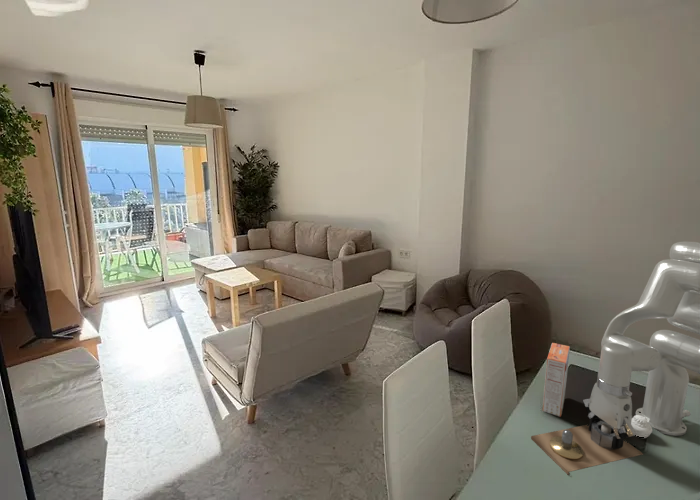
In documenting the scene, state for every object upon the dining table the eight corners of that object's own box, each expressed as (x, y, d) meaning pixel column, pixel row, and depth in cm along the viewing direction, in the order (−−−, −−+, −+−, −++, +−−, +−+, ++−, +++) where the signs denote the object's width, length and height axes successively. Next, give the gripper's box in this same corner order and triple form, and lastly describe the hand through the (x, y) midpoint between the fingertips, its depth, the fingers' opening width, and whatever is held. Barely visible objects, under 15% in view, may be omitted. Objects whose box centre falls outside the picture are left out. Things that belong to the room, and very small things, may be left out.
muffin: (656, 443, 106) (659, 423, 105) (634, 443, 107) (638, 422, 105) (640, 429, 112) (643, 410, 111) (620, 428, 113) (623, 409, 111)
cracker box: (546, 393, 132) (551, 341, 128) (564, 398, 129) (571, 345, 124) (540, 413, 121) (546, 357, 117) (560, 419, 117) (567, 362, 113)
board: (599, 424, 115) (601, 408, 114) (643, 457, 101) (646, 438, 100) (531, 438, 109) (532, 421, 108) (567, 474, 96) (570, 455, 94)
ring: (603, 430, 111) (604, 419, 110) (624, 446, 104) (626, 435, 103) (584, 434, 109) (586, 423, 108) (605, 451, 102) (607, 439, 102)
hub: (566, 436, 108) (568, 419, 107) (590, 457, 100) (592, 438, 99) (543, 441, 107) (544, 423, 105) (565, 462, 99) (567, 443, 97)
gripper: (653, 401, 95) (643, 458, 99) (596, 368, 112) (589, 418, 116) (631, 405, 94) (622, 463, 97) (576, 371, 110) (570, 421, 114)
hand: (604, 438), depth 106 cm, fingers closed on ring, 7 cm apart
